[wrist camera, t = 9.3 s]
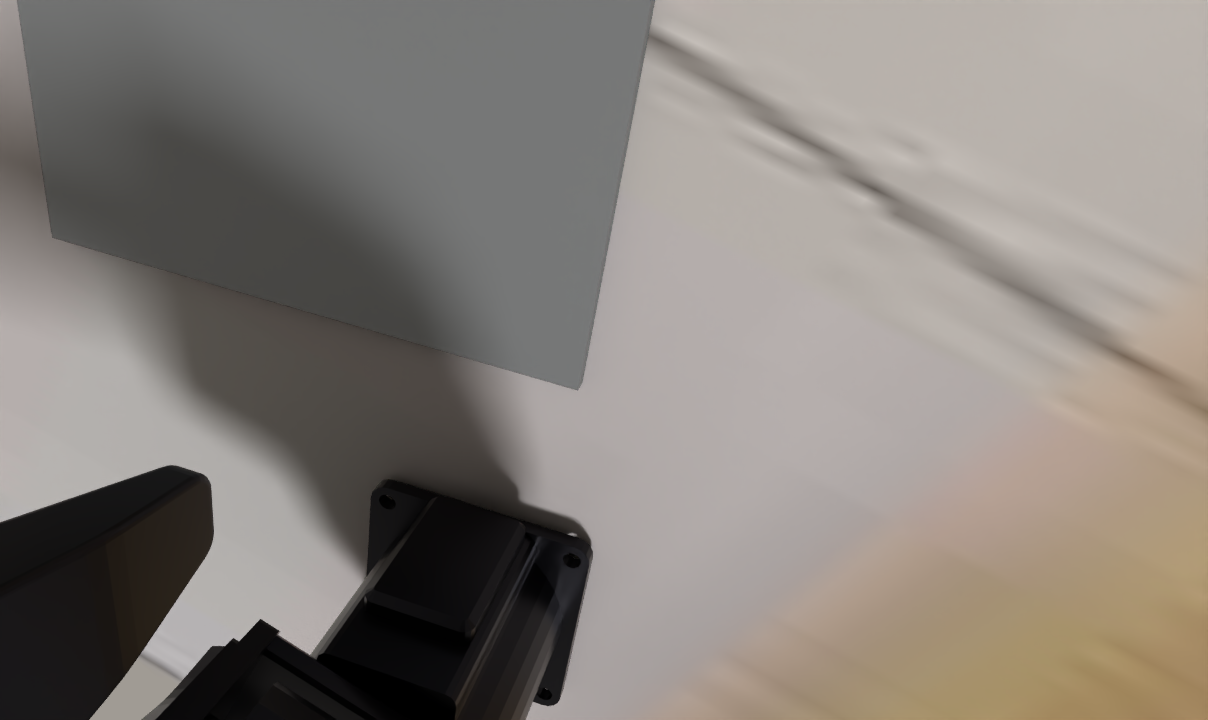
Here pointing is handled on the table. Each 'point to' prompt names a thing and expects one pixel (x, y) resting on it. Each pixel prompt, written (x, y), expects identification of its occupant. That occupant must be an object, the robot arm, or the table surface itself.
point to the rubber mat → (352, 156)
